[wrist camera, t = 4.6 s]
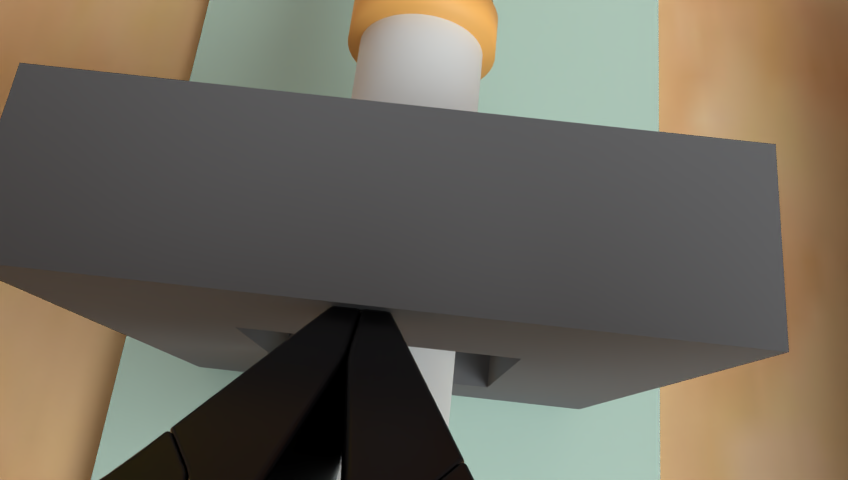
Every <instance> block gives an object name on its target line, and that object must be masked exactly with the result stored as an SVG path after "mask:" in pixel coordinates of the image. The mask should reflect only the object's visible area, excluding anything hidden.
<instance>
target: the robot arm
mask: <svg viewBox="0 0 848 480" xmlns="http://www.w3.org/2000/svg"><path fill="white" fill-rule="evenodd" d="M340 464H341V479H340V480H474V478H473V476H472V474H471V472H470V470H469V468H468V466H467V465H466V464H465V463H464V459H463V457H462V455H461V453H460V451H459V449H458V447H457V445H456V443H455V441H454V439H453V437H452V435H451V433H450V430H449V428H448V426H447V424H446V422H445V420H444V418H443V416H442V414H441V412H440V410H439V408H438V406H437V404H436V402H435V400H434V398H433V396H432V394H431V392H430V390H429V388H428V386H427V384H426V382H425V380H424V378H423V376H422V374H421V372H420V370H419V368H418V366H417V364H416V362H415V360H414V358H413V356H412V354H411V352H410V350H409V348H408V346H407V344H406V342H405V340H404V338H403V336H402V334H401V332H400V330H399V327H398V325H397V323H396V321H395V319H394V317H393V316H392V314H391V313H390V312H386V311H377V310H367V309H366V310H363V311H362V312H361V313H360V311H359V310H358V309H356V308H349V307H340V306H331V307H329V308H328V309H326V310H325V311H324V312H323V313H321V314H320V315H319V316H317V317H316V318H315V319H313V320H312V321H311V322H309V323H308V324H307V325H305V326H304V327H303V328H301V329H300V330H299V331H298V332H296V333H295V334H294V335H292V336H291V337H290V338H288V339H287V340H286V341H284V342H283V343H282V344H280V345H279V346H278V347H276V348H275V349H274V350H273V351H271V352H270V353H269V354H267V355H266V356H265V357H263V358H262V359H261V360H259V361H258V362H257V363H255V364H254V365H253V366H251V367H250V368H249V369H248V370H246V371H245V372H244V373H242V374H241V375H240V376H238V377H237V378H236V379H234V380H233V381H232V382H230V383H229V384H228V385H226V386H225V387H224V388H223V389H221V390H220V391H219V392H217V393H216V394H215V395H213V396H212V397H211V398H209V399H208V400H207V401H205V402H204V403H203V404H201V405H200V406H199V407H197V408H196V409H195V410H194V411H192V412H191V413H190V414H188V415H187V416H186V417H184V418H183V419H182V420H180V421H179V422H178V423H176V424H175V425H174V426H172V427H171V429H170V432H169V431H166V432H164V433H163V434H162V435H160V436H159V437H158V438H156V439H155V440H154V441H152V442H151V443H150V444H148V445H147V446H146V447H144V448H143V449H142V450H140V451H139V452H138V453H136V454H135V455H133V456H132V457H131V458H129V459H128V460H126V461H125V462H124V463H122V464H121V465H119V466H118V467H117V468H115V469H114V470H113V471H111V472H110V473H108V474H107V475H105V476H104V477H102V478H101V479H99V480H336V479H337V476H338V472H339V469H340Z"/></svg>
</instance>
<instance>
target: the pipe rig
mask: <svg viewBox="0 0 848 480" xmlns="http://www.w3.org/2000/svg"><path fill="white" fill-rule="evenodd" d="M190 81H193V82H202V83H212V84H221V85H230V86H240V87H249V88H258V89H267V90H277V91H286V92H295V93H305V94H314V95H323V96H332V97H342V98H351V99H360V100H369V101H379V102H388V103H397V104H407V105H416V106H425V107H434V108H444V109H453V110H462V111H472V112H481V113H490V114H499V115H509V116H518V117H527V118H536V119H546V120H555V121H564V122H574V123H583V124H592V125H601V126H611V127H620V128H629V129H639V130H648V131H657V132H659V57H658V0H209V4H208V8H207V12H206V16H205V20H204V24H203V28H202V32H201V36H200V40H199V44H198V48H197V52H196V57H195V61H194V65H193V69H192V73H191V77H190ZM408 348H409V350H410V352H411V354H412V356H413V358H414V360H415V362H416V364H417V366H418V368H419V370H420V372H421V374H422V376H423V378H424V380H425V382H426V384H427V386H428V388H429V390H430V392H431V394H432V396H433V398H434V400H435V402H436V404H437V406H438V408H439V410H440V412H441V414H442V416H443V418H444V420H445V422H446V424H447V426H448V428H449V430H450V433H451V435H452V437H453V439H454V441H455V443H456V445H457V447H458V449H459V451H460V453H461V455H462V457H463V459H464V463H465V464H466V465H467V466H468V468H469V470H470V472H471V474H472V476H473V478H474V480H660V387H659V388H656V389H652V390H648V391H645V392H641V393H637V394H634V395H630V396H626V397H623V398H619V399H615V400H612V401H608V402H604V403H601V404H597V405H593V406H590V407H586V408H582V409H572V408H563V407H554V406H545V405H536V404H527V403H518V402H509V401H500V400H491V399H482V398H473V397H464V396H455V395H452V385H453V374H454V363H455V351H446V350H437V349H428V348H419V347H410V346H408ZM242 373H244V372H239V371H230V370H221V369H212V368H203V367H198V366H196V365H193V364H191V363H189V362H187V361H184V360H182V359H180V358H177V357H175V356H173V355H170V354H168V353H166V352H164V351H161V350H159V349H157V348H154V347H152V346H150V345H147V344H145V343H143V342H141V341H138V340H136V339H134V338H131V337H129V336H126V340H125V344H124V348H123V352H122V356H121V360H120V364H119V368H118V372H117V376H116V380H115V384H114V388H113V392H112V396H111V400H110V404H109V408H108V412H107V416H106V421H105V425H104V429H103V433H102V437H101V441H100V445H99V449H98V453H97V457H96V461H95V465H94V469H93V473H92V477H91V480H99V479H101V478H102V477H104V476H105V475H107V474H108V473H110V472H111V471H113V470H114V469H115V468H117V467H118V466H119V465H121V464H122V463H124V462H125V461H126V460H128V459H129V458H131V457H132V456H133V455H135V454H136V453H138V452H139V451H140V450H142V449H143V448H144V447H146V446H147V445H148V444H150V443H151V442H152V441H154V440H155V439H156V438H158V437H159V436H160V435H162V434H163V433H164V432H166V431H169V432H170V429H171V427H172V426H174V425H175V424H176V423H178V422H179V421H180V420H182V419H183V418H184V417H186V416H187V415H188V414H190V413H191V412H192V411H194V410H195V409H196V408H197V407H199V406H200V405H201V404H203V403H204V402H205V401H207V400H208V399H209V398H211V397H212V396H213V395H215V394H216V393H217V392H219V391H220V390H221V389H223V388H224V387H225V386H226V385H228V384H229V383H230V382H232V381H233V380H234V379H236V378H237V377H238V376H240V375H241V374H242ZM340 479H341V464H340V469H339V472H338V476H337V479H336V480H340Z"/></svg>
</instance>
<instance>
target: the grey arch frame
mask: <svg viewBox="0 0 848 480" xmlns="http://www.w3.org/2000/svg"><path fill="white" fill-rule="evenodd" d="M0 281H3V282H5V283H7V284H9V285H12V286H14V287H16V288H19V289H21V290H23V291H26V292H28V293H30V294H32V295H35V296H37V297H39V298H42V299H44V300H46V301H49V302H51V303H53V304H55V305H58V306H60V307H62V308H65V309H67V310H69V311H72V312H74V313H76V314H78V315H81V316H83V317H85V318H88V319H90V320H92V321H95V322H97V323H99V324H101V325H104V326H106V327H108V328H111V329H113V330H115V331H118V332H120V333H122V334H124V335H127V336H129V337H131V338H134V339H136V340H138V341H141V342H143V343H145V344H147V345H150V346H152V347H154V348H157V349H159V350H161V351H164V352H166V353H168V354H170V355H173V356H175V357H177V358H180V359H182V360H184V361H187V362H189V363H191V364H193V365H196V366H198V367H203V368H212V369H221V370H230V371H239V372H245V371H246V370H248V369H249V368H250V367H251V366H253V365H254V364H255V363H257V362H258V361H259V360H261V359H262V358H263V357H265V356H266V355H267V354H269V353H270V352H271V351H273V350H274V349H275V348H276V347H278V346H279V345H280V344H282V343H283V342H284V341H286V340H287V339H288V338H290V337H291V336H292V335H294V334H295V333H296V332H298V331H299V330H300V329H301V328H303V327H304V326H305V325H307V324H308V323H309V322H311V321H312V320H313V319H315V318H316V317H317V316H319V315H320V314H321V313H323V312H324V311H325V310H326V309H328V308H329V307H331V306H340V307H349V308H356V309H358V310H359V311H360V313H361V312H362V311H363V310H366V309H367V310H377V311H386V312H390V313H391V314H392V316H393V317H394V319H395V321H396V323H397V325H398V327H399V330H400V332H401V334H402V336H403V338H404V340H405V342H406V344H407V346H410V347H419V348H428V349H437V350H446V351H455V363H454V374H453V385H452V395H455V396H464V397H473V398H482V399H491V400H500V401H509V402H518V403H527V404H536V405H545V406H554V407H563V408H572V409H582V408H586V407H590V406H593V405H597V404H601V403H604V402H608V401H612V400H615V399H619V398H623V397H626V396H630V395H634V394H637V393H641V392H645V391H648V390H652V389H656V388H659V387H663V386H667V385H670V384H674V383H678V382H681V381H685V380H688V379H692V378H696V377H699V376H703V375H707V374H710V373H714V372H718V371H721V370H725V369H729V368H732V367H736V366H740V365H743V364H747V363H751V362H754V361H758V360H762V359H765V358H769V357H773V356H776V355H780V354H784V353H787V352H789V346H788V331H787V315H786V300H785V284H784V268H783V253H782V237H781V222H780V206H779V191H778V175H777V159H776V144H768V143H759V142H750V141H741V140H731V139H722V138H713V137H703V136H694V135H685V134H676V133H666V132H657V131H648V130H639V129H629V128H620V127H611V126H601V125H592V124H583V123H574V122H564V121H555V120H546V119H536V118H527V117H518V116H509V115H499V114H490V113H481V112H472V111H462V110H453V109H444V108H434V107H425V106H416V105H407V104H397V103H388V102H379V101H369V100H360V99H351V98H342V97H332V96H323V95H314V94H305V93H295V92H286V91H277V90H267V89H258V88H249V87H240V86H230V85H221V84H212V83H202V82H193V81H184V80H175V79H165V78H156V77H147V76H138V75H128V74H119V73H110V72H100V71H91V70H82V69H73V68H63V67H54V66H45V65H36V64H26V63H19V66H18V69H17V72H16V75H15V78H14V81H13V84H12V87H11V90H10V93H9V96H8V99H7V102H6V105H5V107H4V110H3V113H2V116H1V119H0Z"/></svg>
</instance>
